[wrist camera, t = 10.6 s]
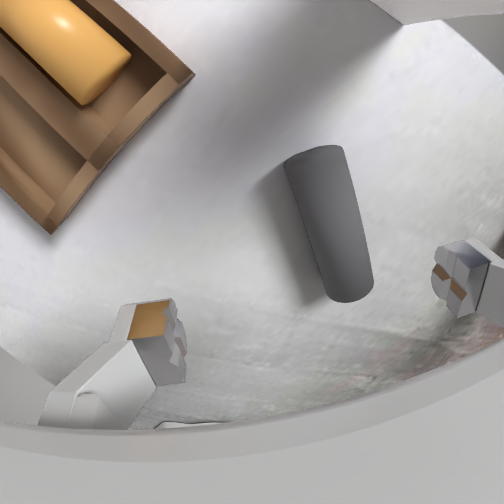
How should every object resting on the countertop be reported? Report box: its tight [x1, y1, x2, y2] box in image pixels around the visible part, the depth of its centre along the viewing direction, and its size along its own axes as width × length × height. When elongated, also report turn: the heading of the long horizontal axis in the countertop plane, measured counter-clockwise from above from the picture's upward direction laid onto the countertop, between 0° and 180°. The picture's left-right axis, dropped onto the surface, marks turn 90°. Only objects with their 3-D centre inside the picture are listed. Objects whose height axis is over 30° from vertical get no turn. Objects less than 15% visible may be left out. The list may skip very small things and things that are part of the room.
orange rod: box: [0, 0, 131, 105], centre depth 12 cm, size 11×4×4 cm, turn 41°
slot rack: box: [0, 0, 195, 235], centre depth 15 cm, size 14×18×3 cm
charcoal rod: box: [284, 145, 374, 303], centre depth 22 cm, size 11×4×4 cm, turn 21°
